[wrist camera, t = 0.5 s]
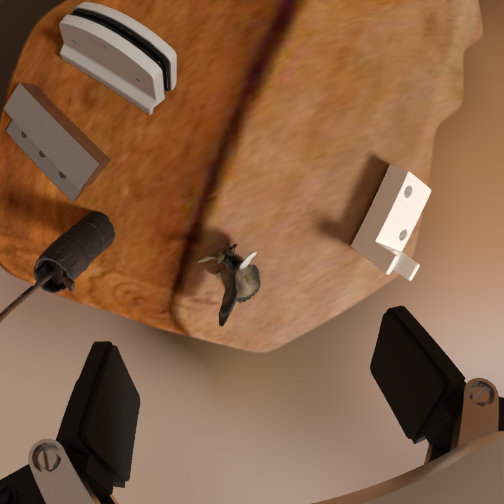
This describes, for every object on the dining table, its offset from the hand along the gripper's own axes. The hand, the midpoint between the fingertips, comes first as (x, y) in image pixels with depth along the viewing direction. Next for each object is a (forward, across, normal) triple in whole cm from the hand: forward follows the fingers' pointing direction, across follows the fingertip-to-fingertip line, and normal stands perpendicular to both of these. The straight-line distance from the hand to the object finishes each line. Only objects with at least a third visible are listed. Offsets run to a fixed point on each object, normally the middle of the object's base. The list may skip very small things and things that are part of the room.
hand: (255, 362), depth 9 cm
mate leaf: (+29, +22, -9) cm, 38 cm away
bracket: (+29, -24, +5) cm, 38 cm away
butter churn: (+29, +16, +4) cm, 33 cm away
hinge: (+29, +12, -18) cm, 36 cm away
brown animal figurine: (+29, 0, +12) cm, 31 cm away
